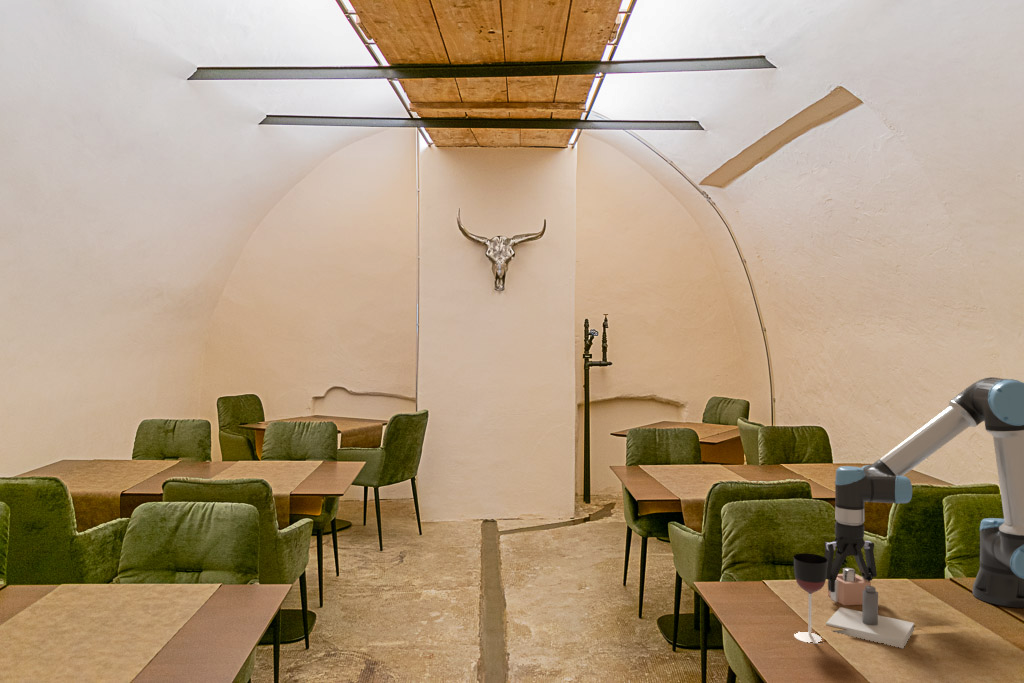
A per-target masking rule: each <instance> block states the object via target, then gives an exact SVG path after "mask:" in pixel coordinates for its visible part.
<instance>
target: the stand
mask: <svg viewBox="0 0 1024 683" xmlns="http://www.w3.org/2000/svg"><path fill="white" fill-rule="evenodd" d="M842 574H843V581H845V582H854V581H855V574H856V570H855V569H854V568H852V567H851V568H850V567H844V568H842Z"/></svg>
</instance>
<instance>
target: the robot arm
mask: <svg viewBox="0 0 1024 683" xmlns="http://www.w3.org/2000/svg"><path fill="white" fill-rule="evenodd" d="M983 422H984V427H985V428H984V429H985V431H987V433H989V434H990V435H991V436H992V438H993V444H994V445H993V446H994V452H995V453H994V454H995V461H996V467H997V468H996V469H997V476H998V484H999V490H1000V497H1001V504H1002V506H1001V507H1002V513H1003V518H995V517H989V518H983V519H982V520H981V521H980V525H979V570H978V572H977V575H976V577H975V579H974V582H973V585H972V595H973V596H974V597H975V598H976V599H978V600H980V601H983V602H986V603H988V604H992V605H996V606H1002V607H1008V608H1024V382H1023V381H1020V380H1018V379H1013V378H1012V379H1009V378H1000V377H984V378H982V379H979V380H976V381H975V382H973V383H972V384H971V385H969V386H968V387H966V388H965V389H964V390H962V391H961V392H959V393H958V394H957V395H956V396H954V397H953V398H952V399H950V400H949V401H948V406H947V407H946V408H945V409H943V410H942V411H941V412H939V413H938V414H937V415H935V416H934V417H933V418H932V419H931V420H929V421H928V422H926V423H925V424H924V425H923V426H921V427H920V428H918V429H917V430H916V431H915V432H913V433H912V434H911V435H910V436H908V437H907V438H906V439H905V440H903V441H902V442H900V443H899V444H898V445H896V446H895V447H893V448H892V449H891V450H890V451H888V452H887V453H886V454H884V455H883V456H882V457H881V458H879V459H878V460H876V461H875V462H873V464H867V465H863V466H861V467H859V466H852V465H851V466H849V465H845V466H844V465H843V466H839V467H837V468H836V470H835V482H834V486H835V488H834V490H835V491H834V492H835V502H834V504H835V505H834V508H835V509H834V510H835V511H834V514H835V515H834V517H835V519H834V520H836V521H835V523H834V535H835V538H834V541H832V542H828V541H825V542H824V549H825V551H824V556H823V557H825V558H826V559H827V560H828V562H827V576H826V580H827V582H828V583H827V591H828V590H829V591H831V597H830V600H832V601H834V603H839V602H838V584H839V582H838V581H837V580H836V578H837V576H838V574H840V571H841V568H842V566H843V563H844V561H845V560H846V559H847V557H850V556H853V557H854V559H855V562H856V564H857V566H858V568H859V572H860V574H861V577H862V578H863V579H865V580H867V581H869V582H871V581H873V579H874V578H876V577H877V576H878V574H877V573H878V572H877V566H876V559H875V553H874V549H875V548H874V547H875V543H874V542H872V541H870V540H868V539H867V540H864V536H865V525H864V522H865V503H881V504H882V503H884V504H908V503H910V502H911V500H912V497H913V485H912V482H911V480H910V478H909V477H907V476H905V475H906V474H908V473H909V472H910V471H911V470H913V469H914V468H915V467H917V466H919V464H921V463H922V462H924V461H925V460H926V459H928V458H929V457H931V456H932V455H933V454H934V453H936V452H937V451H939V449H941V448H943V447H944V446H945V445H947V443H949V442H951V441H952V440H953V439H955V438H956V437H957V436H959V435H960V434H962V433H963V432H964V431H965V430H966V429H968V428H970V427H972V428H976V427H977V426H979V425H980V424H981V423H983ZM836 548H837V549H836ZM863 548H864V549H863ZM862 549H863V550H864V555H863V552H862ZM835 550H836V551H835ZM864 556H865V559H864Z"/></svg>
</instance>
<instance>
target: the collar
mask: <svg viewBox="0 0 1024 683" xmlns="http://www.w3.org/2000/svg"><path fill="white" fill-rule="evenodd" d="M862 577H863V576H860V575H858V574H856V573H855V581H854V582H845V581H843V573H838V576H837V578H836V580H837V581H838V582H839V584H838V602H837V603H839V604H841V605H843V606H855V605H857V606H859V605H860V606H861V605H862V606H863V590H865V586H872V583H871V581H870V582H869V581H867V580H865V579H863V578H862ZM827 595H828V597H830V598H831V591H829V590H828V589H827Z"/></svg>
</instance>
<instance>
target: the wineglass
mask: <svg viewBox="0 0 1024 683" xmlns="http://www.w3.org/2000/svg"><path fill="white" fill-rule="evenodd" d="M827 562H828V560H827V559H826V558H825V557H824V556H823V555H819V554H816V553H808V552H807V553H806V552H805V553H803V552H802V553H796V554H794V555H793V570H794V571H793V572H794V578H795V580H796V582H797V583H796V584H797V586H799V587H800V588H801V589H803V590H804V591H805V592H807V594H808V602H807V603H808V612H807V614H808V615H807V616H808V620H807V623H808V626H807V631H808V632H800V631H797V632H798V633H796V632H795V633H796V634H795V633H794V634H793V637H794V638H795V639H796V640H798V641H801V642H803V643H807V642H808V644H811V643H810V642H813V643H812V644H819V643H818V642H820V641H822V640H821V639H822V638H821V636H819V635H817V634H815V633H816V632H814V633H811V632H813V631H812V629H813V628H812V622H813V621H812V619H813V618H812V617H813V616H812V615H813V613H812V612H813V611H812V610H813V607H812V606H813V604H812V603H813V598H812V597H813V593H816V592H818V591H820V590H822V589H823V588H824V585H825V583H826V580H827V579H826V576H827Z"/></svg>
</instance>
